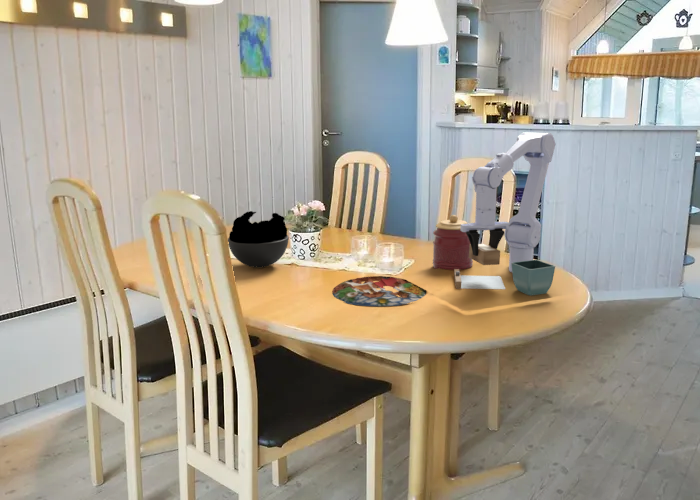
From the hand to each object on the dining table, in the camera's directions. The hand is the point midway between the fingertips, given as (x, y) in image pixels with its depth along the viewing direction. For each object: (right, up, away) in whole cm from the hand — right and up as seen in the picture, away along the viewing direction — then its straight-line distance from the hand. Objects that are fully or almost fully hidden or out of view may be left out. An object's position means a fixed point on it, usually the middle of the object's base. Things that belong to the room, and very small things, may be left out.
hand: (484, 254), depth 192 cm
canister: (-6, -5, +23) cm, 24 cm away
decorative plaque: (-31, -11, -2) cm, 33 cm away
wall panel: (-1, -9, +2) cm, 9 cm away
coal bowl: (-70, -5, +27) cm, 75 cm away
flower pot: (+12, -12, -8) cm, 18 cm away
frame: (0, -2, 0) cm, 2 cm away
